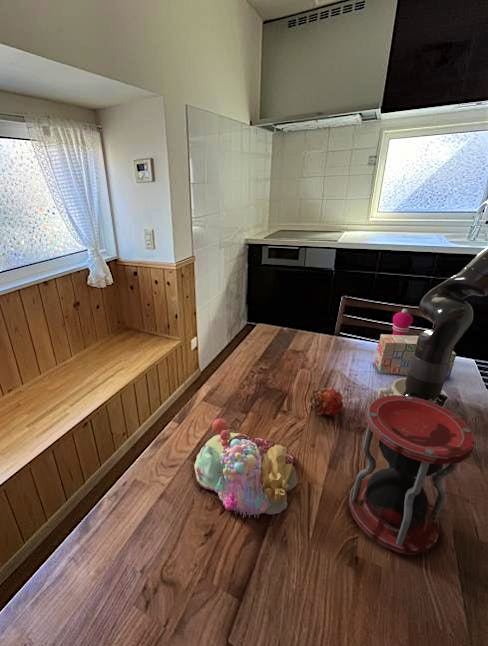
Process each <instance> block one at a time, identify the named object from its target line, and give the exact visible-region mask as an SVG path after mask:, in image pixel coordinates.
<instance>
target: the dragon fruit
mask: <svg viewBox="0 0 488 646" xmlns="http://www.w3.org/2000/svg"><path fill="white" fill-rule="evenodd" d="M309 403H310V404H311V405H310V409H311V410H313V411H315V415H317V416H319V417H320V416H328V417H332V418H335V417H336V413H337V412H340V411H342V409H343V406H344V402H343V396H342V393H341V392H340V391H337V390H335V389H334V388H330V389H329V388H328V387H325V388H322V389H320V390H313V391H312V396H311V397H310V398H309Z"/></svg>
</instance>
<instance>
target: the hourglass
mask: <svg viewBox="0 0 488 646" xmlns="http://www.w3.org/2000/svg"><path fill="white" fill-rule="evenodd" d="M366 422H367V427H366V432H365V436H364V440H363V446H362V452H363V453H362V454H363V455H364V456H365V458H366V459H367V466H366V467H365V468H363V469H362V470H360V471H359V472H358V473H357V474H356V477H355V482H354V485H353V486H352V488H351V490H350V493H349V498H348V499H349V500H348V505H349V509H350V514H351V516H352V517H353V519H354V521H355V523H356V524H357V525H358V527H359V528H360V529H361V530H362V531H363V532H364V533H365V534H366V535H367V536H368V537H369V538H370V539H371V540H373V541H375V542H376V543H377V544H378V545H380V546H382V547H383V548H387V549H389V550H392V551H393V552H395V553H398V554H405V555H413V556H414V555H420V554H425V553H427V552H429V551H430V550H431V549H433V548H434V547H435V546H436V543H437V540H438V539H439V536H440V525H439V520H438V518H439V515H440V513H441V510H442V508H443V505H444V501H445V500H446V497H447V496H446V491H445V489H444V488H443V486H442V481H443V479H444V478H445V477H448V476H449V475H452V474H453V473H454V472H456V470H457V469H458V466H459V464H460V463H462V462H464V461H466V460H468V459H469V458H471V455H472V452H473V450H474V448H475V445H476V439H475V435H474V432H473V430H471V428H470V427H469V426H468V425H467V423H466V422H465V421H464V420H463V419H461V417H459V416H457V415H456V414H455V413H454V412H452V411H450V410H449V409H447V408H446V407H445V408H443V407H441V406H439V405H437V404H434V403H432V402H429V401H426V400H424V399H419V398H415V397H410V396H400V395H392V396H389V395H385V396H384V395H383V397H381V398H379V399H377V398H376V399H374V400H373V401H372V402H371V404H369V406H368V409H367V413H366ZM373 435H375V437H376V438H377V439H378V447H379V450H380V452H381V454H382V456H383V459H385V461H386V462H387V463H388V464H387V467H386V468H382V469H379V470H377V471H376V472H374V471H375V469H376V468H377V464H376V463H377V462H376V458H375V457H374V456H373V455H372V454H371V451H370V448H371V445H372V439H373ZM444 466H445V467H444ZM443 467H444V468H443ZM373 472H374V473H373ZM371 474H372V475H371ZM369 475H371V476H370V477H366V476H369ZM432 475H433V476H432ZM429 476H432V477H431V480H432V486H433V487H434V488H435V490H436V491H437V492H436V493H437V497H436V499H435V503H434V505H433V508H432V507H431V506H430V505H429V498H428V495H427V493H426V491H425V489H424V487H423V486H424V482H425V480H426V477H429ZM365 477H366V478H365Z"/></svg>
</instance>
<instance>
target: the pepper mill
mask: <svg viewBox="0 0 488 646" xmlns="http://www.w3.org/2000/svg"><path fill="white" fill-rule="evenodd" d="M408 311H409V310H408V309H407V308H403V309H401V311H399V312H396V313H395V314H394V315H393V317H392V323H393V324H392V329H393V330H392V334H391V335H407V333H408V332H409V331H410V326H411V325H412V324H413V322H414V317H413V316H412V315H411V314H410V313H409V312H408Z"/></svg>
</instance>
